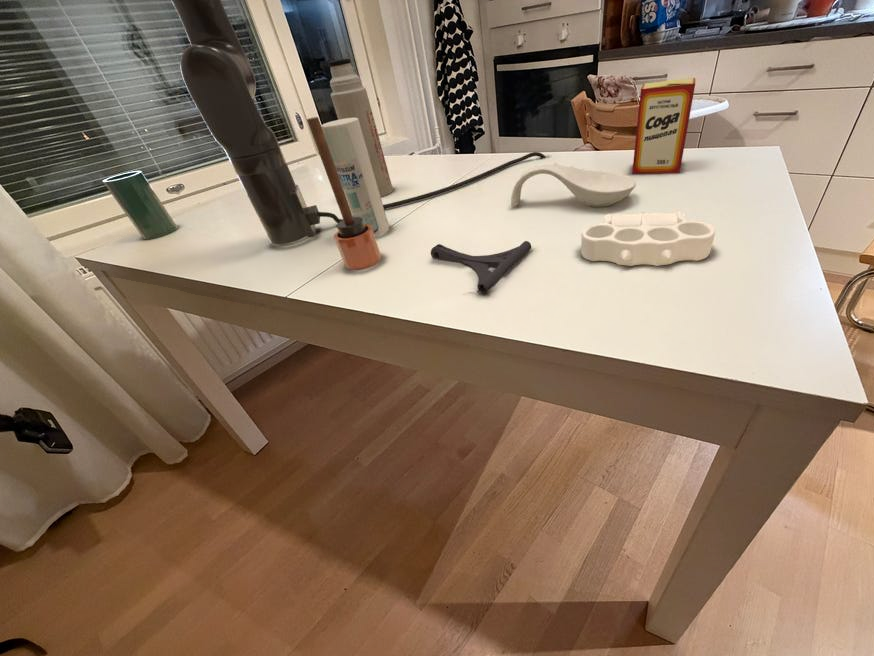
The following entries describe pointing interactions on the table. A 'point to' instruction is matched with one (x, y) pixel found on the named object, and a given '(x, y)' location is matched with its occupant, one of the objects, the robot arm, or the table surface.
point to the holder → (359, 249)
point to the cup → (141, 204)
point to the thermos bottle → (359, 116)
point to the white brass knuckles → (647, 239)
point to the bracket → (484, 263)
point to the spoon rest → (582, 184)
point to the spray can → (356, 172)
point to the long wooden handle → (336, 184)
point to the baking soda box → (662, 126)
